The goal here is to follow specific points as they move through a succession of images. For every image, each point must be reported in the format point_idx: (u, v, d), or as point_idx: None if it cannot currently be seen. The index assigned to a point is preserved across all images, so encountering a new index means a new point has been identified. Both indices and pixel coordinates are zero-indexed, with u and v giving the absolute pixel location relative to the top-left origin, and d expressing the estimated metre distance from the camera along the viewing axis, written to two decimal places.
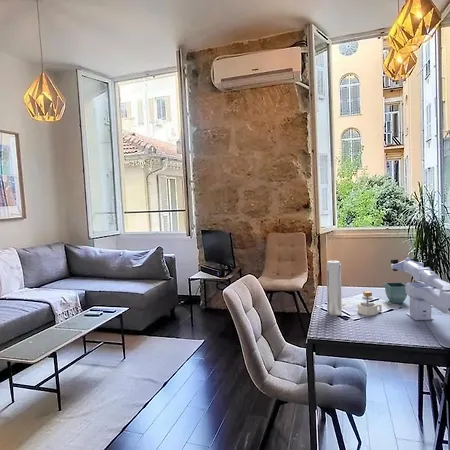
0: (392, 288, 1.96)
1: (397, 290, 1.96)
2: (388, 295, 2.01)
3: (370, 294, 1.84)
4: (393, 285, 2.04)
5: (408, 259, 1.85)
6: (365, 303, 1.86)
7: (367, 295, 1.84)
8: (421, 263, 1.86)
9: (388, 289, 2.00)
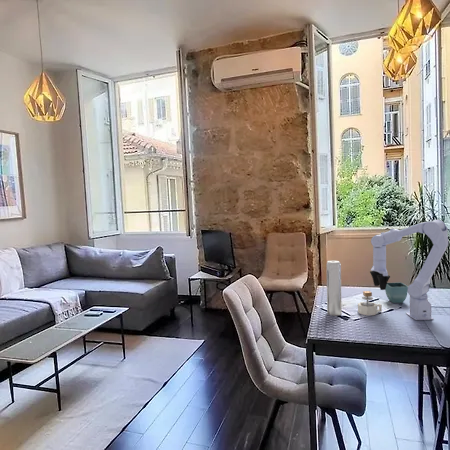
0: (392, 288, 1.96)
1: (397, 290, 1.96)
2: (388, 295, 2.01)
3: (370, 294, 1.84)
4: (393, 285, 2.04)
5: (372, 268, 1.89)
6: (365, 303, 1.86)
7: (367, 295, 1.84)
8: (372, 266, 1.95)
9: (388, 289, 2.00)
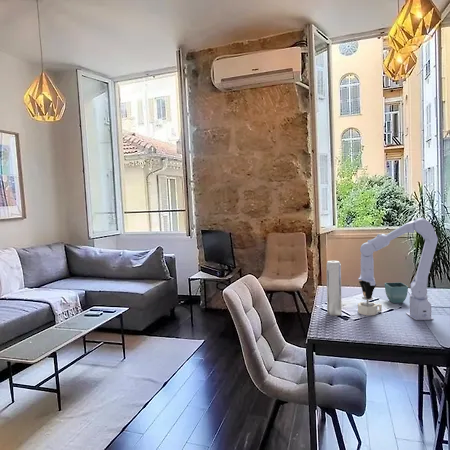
0: (392, 288, 1.96)
1: (397, 290, 1.96)
2: (388, 295, 2.01)
3: None
4: (393, 285, 2.04)
5: (360, 277, 1.85)
6: (365, 303, 1.86)
7: None
8: None
9: (388, 289, 2.00)
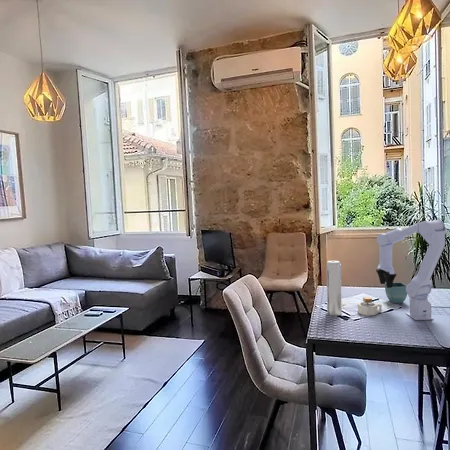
0: (392, 288, 1.96)
1: (397, 290, 1.96)
2: (388, 295, 2.01)
3: (370, 300, 1.84)
4: (393, 285, 2.04)
5: (379, 267, 1.92)
6: None
7: (367, 301, 1.84)
8: (378, 264, 1.98)
9: (388, 289, 2.00)
